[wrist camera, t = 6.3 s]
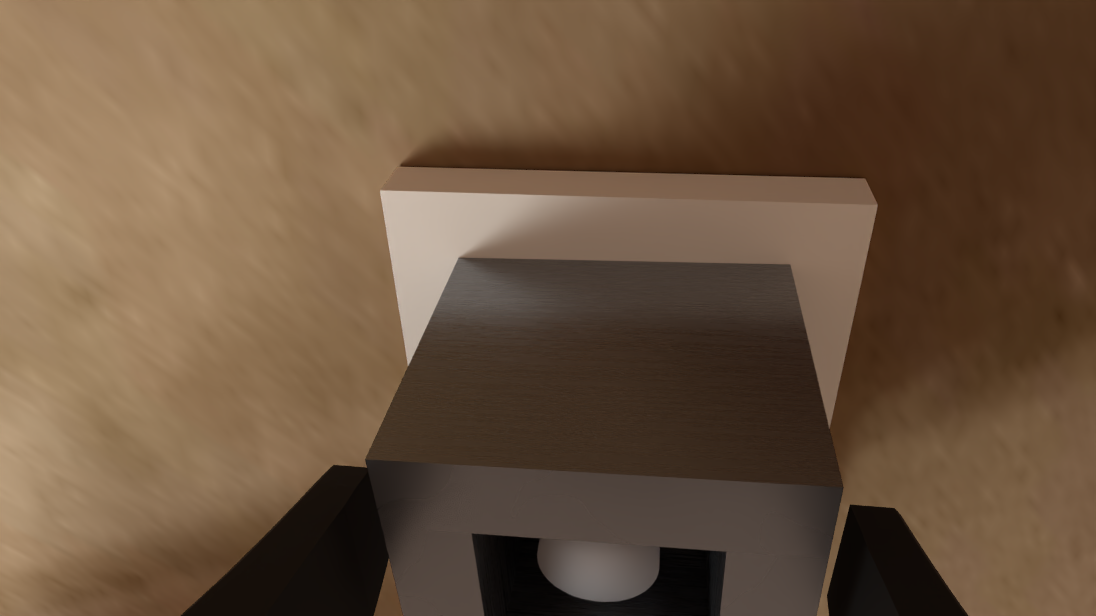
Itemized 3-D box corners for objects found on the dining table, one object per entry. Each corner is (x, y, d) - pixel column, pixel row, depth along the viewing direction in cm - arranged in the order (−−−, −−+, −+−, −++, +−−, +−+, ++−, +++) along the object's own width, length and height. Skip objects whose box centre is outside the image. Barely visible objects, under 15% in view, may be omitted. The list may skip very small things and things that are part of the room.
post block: (797, 514, 17) (834, 741, 13) (443, 486, 18) (376, 689, 14) (865, 178, 13) (952, 360, 9) (397, 166, 14) (281, 324, 10)
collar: (759, 504, 16) (787, 753, 12) (488, 487, 17) (427, 715, 13) (790, 264, 13) (843, 487, 9) (458, 257, 14) (365, 459, 10)
